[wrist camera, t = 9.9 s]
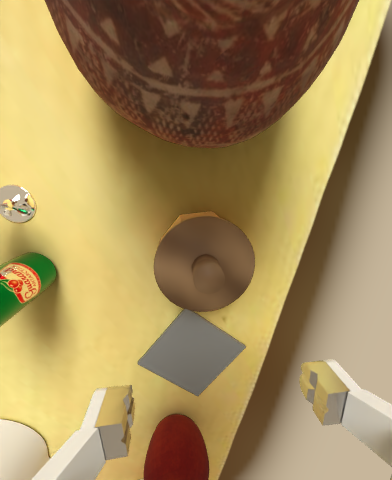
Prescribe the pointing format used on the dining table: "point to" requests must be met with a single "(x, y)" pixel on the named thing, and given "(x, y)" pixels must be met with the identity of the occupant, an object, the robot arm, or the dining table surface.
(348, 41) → the dining table surface
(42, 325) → the dining table surface
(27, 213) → the wineglass
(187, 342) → the mat
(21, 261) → the soda can
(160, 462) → the apple
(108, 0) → the jug
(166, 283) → the lid
